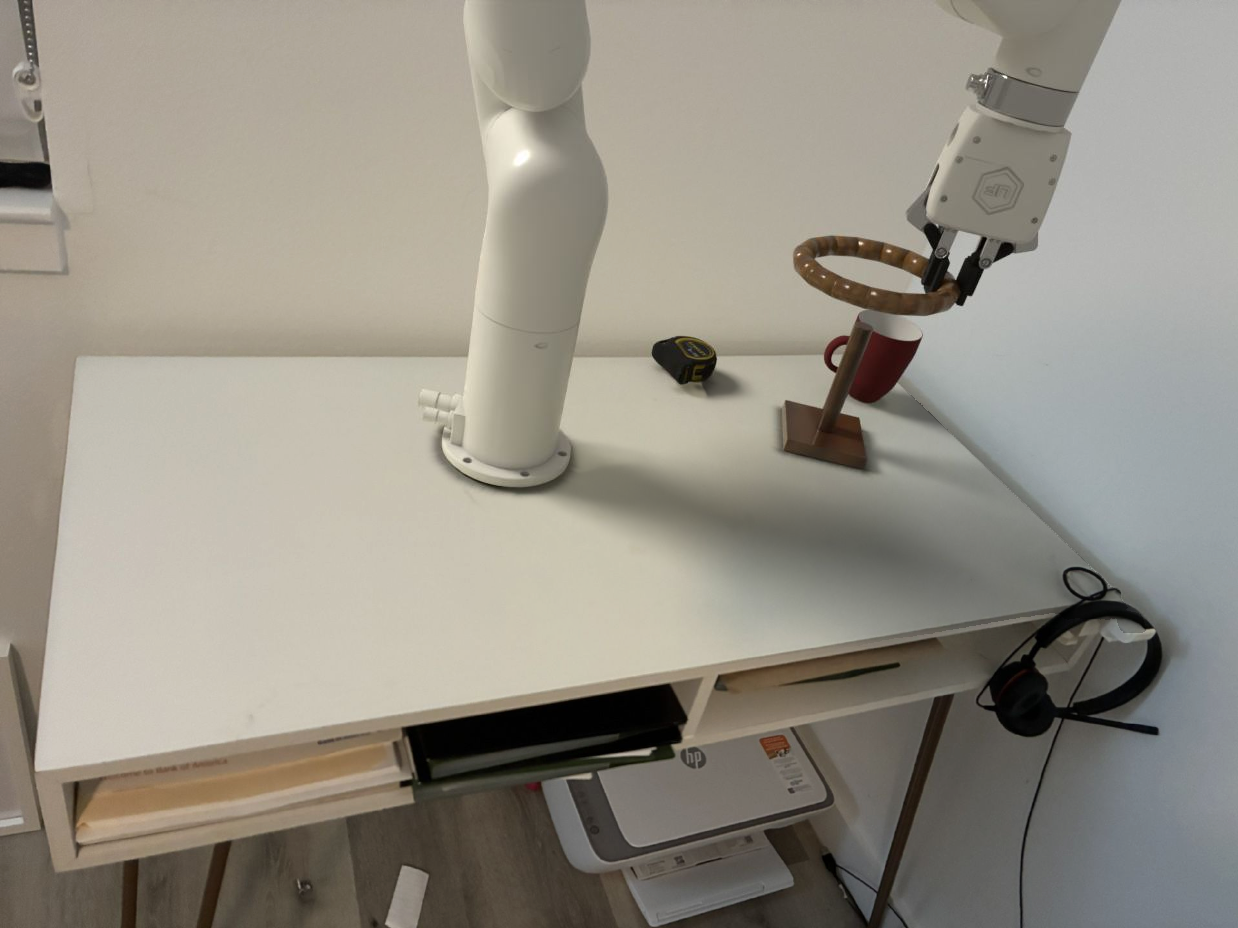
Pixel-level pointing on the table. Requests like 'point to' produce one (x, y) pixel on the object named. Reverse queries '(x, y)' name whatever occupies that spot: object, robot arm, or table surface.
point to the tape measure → (685, 358)
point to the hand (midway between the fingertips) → (943, 295)
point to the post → (830, 414)
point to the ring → (865, 294)
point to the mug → (880, 354)
